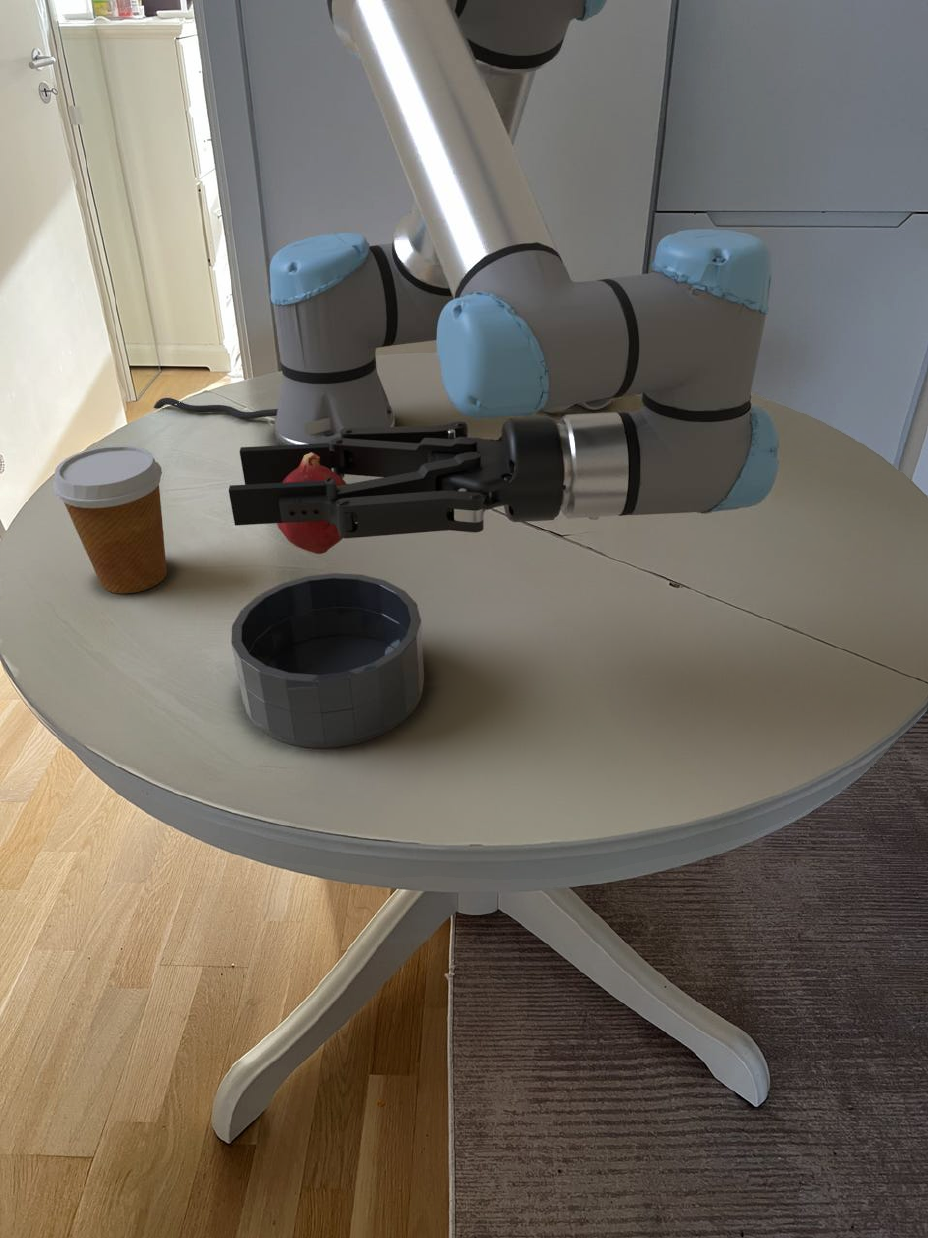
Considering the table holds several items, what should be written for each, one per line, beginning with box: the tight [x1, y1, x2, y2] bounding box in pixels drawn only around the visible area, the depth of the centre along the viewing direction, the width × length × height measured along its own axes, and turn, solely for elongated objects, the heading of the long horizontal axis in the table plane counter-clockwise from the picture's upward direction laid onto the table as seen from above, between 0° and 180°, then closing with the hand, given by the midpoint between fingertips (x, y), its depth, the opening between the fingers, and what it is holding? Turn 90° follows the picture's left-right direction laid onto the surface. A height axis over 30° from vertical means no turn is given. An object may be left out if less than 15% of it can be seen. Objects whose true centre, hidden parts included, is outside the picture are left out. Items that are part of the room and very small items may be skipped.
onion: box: [276, 452, 347, 555], centre depth 67 cm, size 6×6×8 cm
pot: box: [230, 572, 425, 749], centre depth 74 cm, size 15×15×6 cm
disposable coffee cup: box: [52, 444, 168, 595], centre depth 87 cm, size 10×10×12 cm
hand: (238, 485), depth 66 cm, fingers closed on onion, 6 cm apart
